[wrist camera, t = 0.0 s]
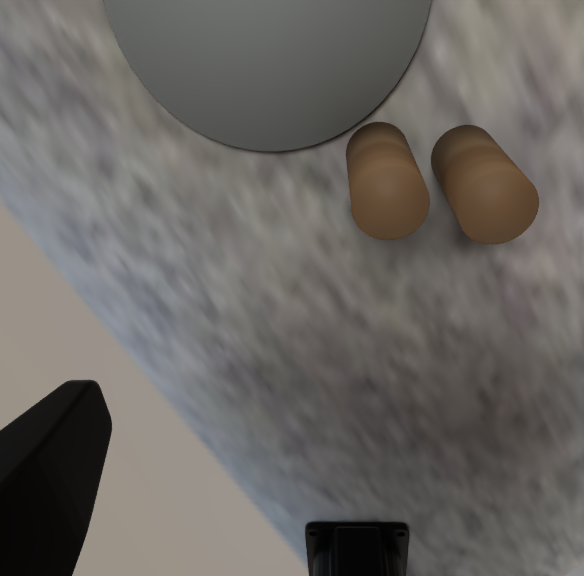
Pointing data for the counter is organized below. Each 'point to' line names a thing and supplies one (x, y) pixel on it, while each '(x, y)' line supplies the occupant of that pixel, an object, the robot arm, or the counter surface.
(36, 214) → the counter surface
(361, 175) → the peg
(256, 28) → the slate coaster
